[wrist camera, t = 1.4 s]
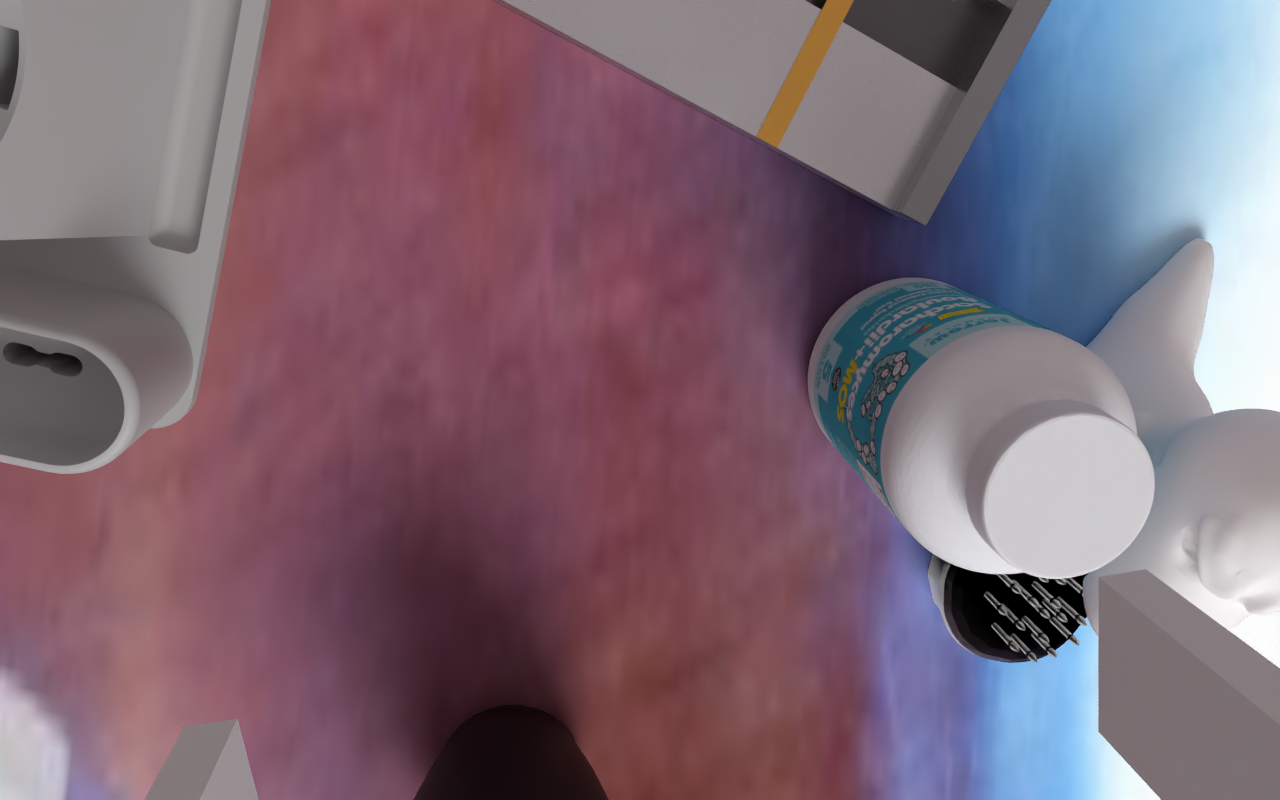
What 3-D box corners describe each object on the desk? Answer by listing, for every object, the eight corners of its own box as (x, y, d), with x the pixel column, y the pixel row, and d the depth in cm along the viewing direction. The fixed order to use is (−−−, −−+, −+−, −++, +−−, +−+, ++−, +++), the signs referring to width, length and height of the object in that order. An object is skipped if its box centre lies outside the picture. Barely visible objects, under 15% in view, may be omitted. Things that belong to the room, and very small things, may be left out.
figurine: (867, 590, 43) (1002, 778, 31) (1112, 187, 39) (1368, 223, 28) (1035, 668, 45) (1223, 873, 33) (1282, 289, 41) (1592, 364, 29)
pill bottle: (907, 231, 39) (1100, 294, 26) (1028, 368, 41) (1263, 489, 28) (759, 374, 40) (875, 503, 27) (885, 501, 42) (1049, 678, 29)
